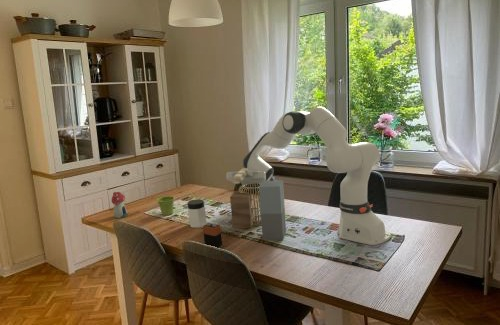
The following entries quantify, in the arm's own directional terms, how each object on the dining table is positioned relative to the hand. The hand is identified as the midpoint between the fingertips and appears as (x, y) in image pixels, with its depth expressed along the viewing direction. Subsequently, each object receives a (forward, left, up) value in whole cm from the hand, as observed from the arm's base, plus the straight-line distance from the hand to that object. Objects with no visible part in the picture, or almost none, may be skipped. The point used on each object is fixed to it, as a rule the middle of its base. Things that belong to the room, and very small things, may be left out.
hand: (242, 172), depth 189 cm
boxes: (-14, +4, -25) cm, 29 cm away
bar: (-3, +3, -2) cm, 5 cm away
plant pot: (+42, +23, -25) cm, 54 cm away
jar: (+14, +20, -25) cm, 35 cm away
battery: (-13, +28, -25) cm, 40 cm away
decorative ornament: (+59, +43, -25) cm, 77 cm away
